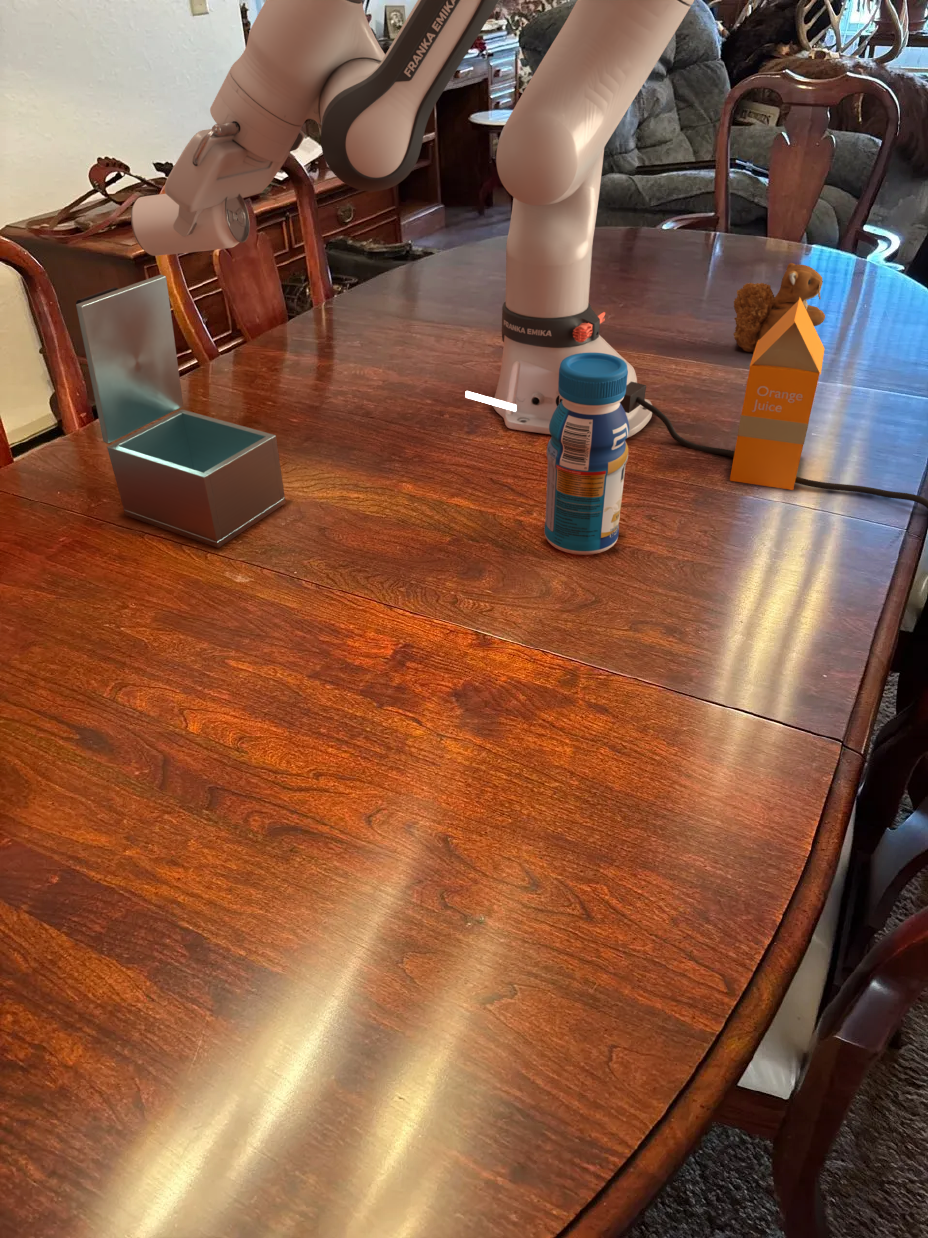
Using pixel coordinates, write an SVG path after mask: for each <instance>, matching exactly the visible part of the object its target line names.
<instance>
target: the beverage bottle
mask: <svg viewBox="0 0 928 1238" xmlns="http://www.w3.org/2000/svg"><path fill="white" fill-rule="evenodd" d="M627 376H628V370H627V364H626V363H625V361H623V360H622V359H620V358H618V357H616V356H613V355H609V354H604V353H579V354H574V355H571V356H568V357H566V358H565V359H564V360H562V362H561V364H560V368H559V382H558V391H559V395H560V397H561V399H562V401H561V402H560V404H559V405H558V406H557V408H556V410H555V411H554V413H553V415H552V418H551V420H550V424H549V431H550V434H549V435H550V436H551V437H550V438H549V441H548V443H547V446H546V459H547V467H546V469H547V470H546V472H547V473H546V493H545V494H546V497H545V498H546V499H545V516H544V517H545V519H544V536H545V539H546V541H547V542H548V543H549V544H550V545H551V546H552V547H554V548H555V549H556V550H559V551H561V552H564V553H567V554H571V555H578V556H591V555H596V554H600V553H603V552H606V551H608V550H610V549H611V548H612V547H614V546H615V544H616V543H617V542H618V538H619V531H620V519H621V510H622V501H623V493H624V492H623V491H624V483H625V474H626V466H627V462H628V459H629V446H628V443H627V441H626V440H627V439H628V438H629V437H628V435H629V422H628V418H627V415H626V413H625V411H624V409H623V407H622V405H621V403H620V402H621V401H622V400H623V398H624V396H625V393H626V386H627ZM627 437H628V438H627Z"/></svg>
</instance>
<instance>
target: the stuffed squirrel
mask: <svg viewBox="0 0 928 1238" xmlns="http://www.w3.org/2000/svg"><path fill="white" fill-rule="evenodd" d="M786 266H787V267H786V271H784V274H783V276H782V279H781V283H780V288H779V289H778V292H777V294H776V295H775V294H774V292H773V290H772V288H771V285H770V284H767V283H764V282H760V283H758V282H756V283H753V282H749V283H748V282H747V283H744V284H743V286H742V288H740V289H737V290H736V295H737V296H736V297H735V298H734V301H733V308H734V312H735V313H736V317H734V321H735V328H734V331H735V332H733V338H734V340H735V341H736V345H738V347H739V348H741V349H742V350H743V351H744V352H748V353H754V350H755V347H756V344H757V342H758V340H760V339H761V338H762V337H763V336H764V335H765V334H766V333H767V332H768V331H769V330H770V329H771V328H772V327H773V326H774V325H775V324H776V323H777V322H778V321H779V320H780V319H781V317H782V316H783V315H784V314H785V313H786V312H787V311H788V310H789V309H790V308H791V307H792V306H793V305H794V304H795V303H796V302H797V301H798V300H799V298H801V300H802V302H803V305H804V307H805V309H806V311H807V313H808V315H809V317H810V319H811V321H812V323H813V325H814V327H818V326H820V325H821V324H823V323H824V321H825V319H826V314H825V313H824V311H823V310H821V309H820V308H819V307H818V306H813V305H810V304H809V303H808V301H809V300H811V299H813V298H815V297H818V300H821V299H822V297H821V290H822V286H823V277H822V274H820V273H819V272H818V271H816V270H815V269H814V268H813V267H811V266H809V265H807V264H795V263H793V262H790V263H788V265H786Z"/></svg>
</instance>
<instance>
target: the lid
mask: <svg viewBox="0 0 928 1238" xmlns="http://www.w3.org/2000/svg"><path fill="white" fill-rule="evenodd" d="M168 287H169V286H168V281H167V276H166V275H164V274H158V275H155V276H153V277H149V278H147V279H144V280H141V281H138V282H136V283H133V284H129V285H127V286H125V287H121V288H118V287H116V286H115V287H111V288H108V289H105V290H102V291H99V292H97V293H93V294H90V295H88V296H85V297H81V298H79V299H77V300H76V301H75V308H76V311H77V316H78V321H79V326H80V331H81V332H80V333H81V335H82V336H81V337H82V341H83V346H84V351H85V357H86V362H87V366H88V372H89V376H90V381H91V385H92V386H91V387H92V391H93V396H94V403H95V406H96V407H95V408H96V412H97V417H98V422H99V427H100V431H101V437H102V441H103V442H104V443H106V444H111V443H114V441H116V440H118V439H119V440H120V439H121V438H122V437H126V436H128V435H129V434H131V433H134V431H137V430H139V429H141V428H144V427H146V426H147V425H149V424H151V423H153V422H156V421H158V420H160V419H161V418H163V417H165V416H167V415H170V414H171V413H173V412H176V411H177V410H179V409H181V408H183V407H184V401H183V393H182V385H181V379H180V378H181V377H180V369H179V362H178V354H177V347H176V341H175V340H176V339H175V333H174V324H173V318H172V311H171V303H170V302H171V301H170V295H169V288H168Z"/></svg>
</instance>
